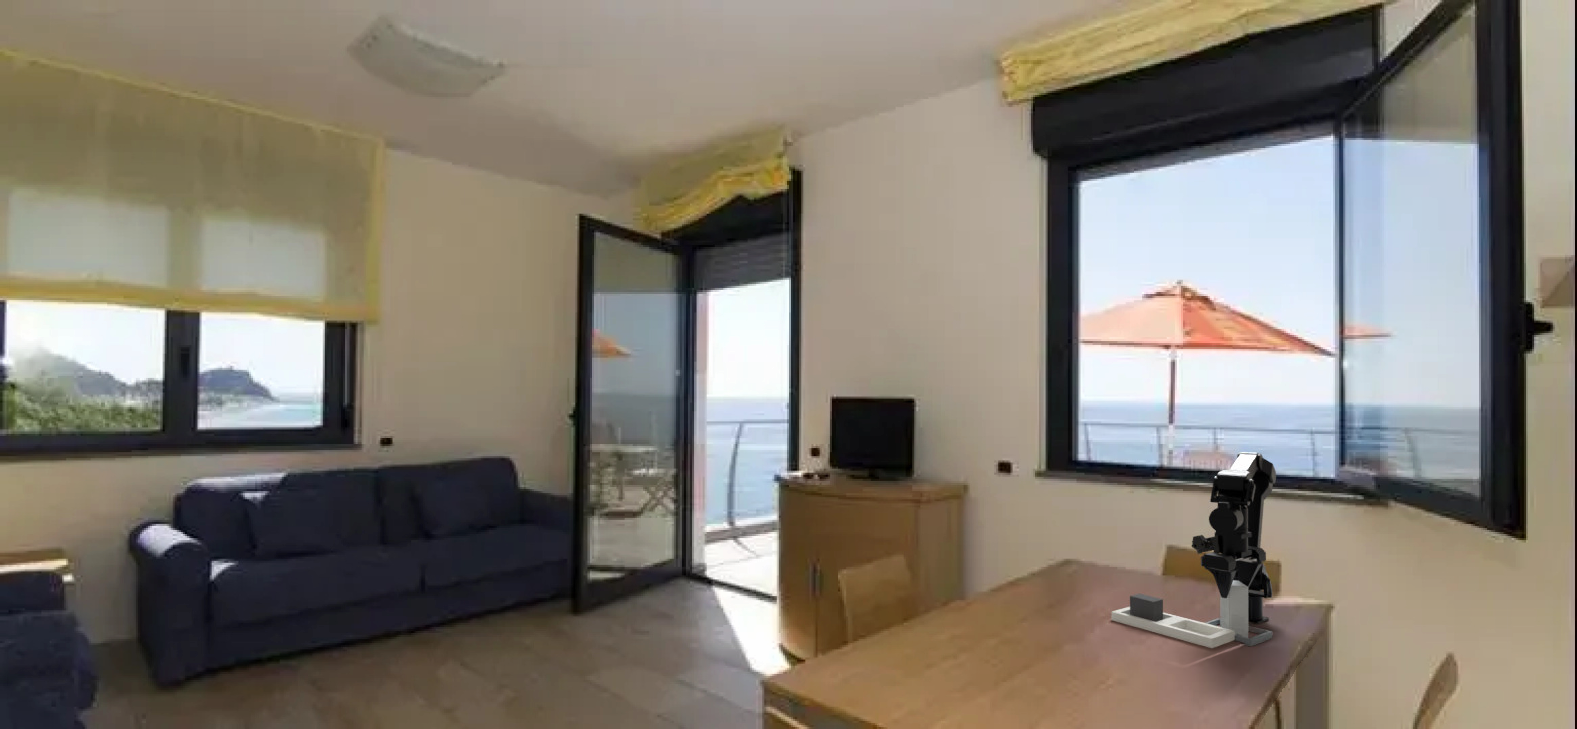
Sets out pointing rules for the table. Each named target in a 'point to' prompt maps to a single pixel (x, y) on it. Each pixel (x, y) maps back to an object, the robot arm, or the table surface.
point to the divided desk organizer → (1178, 628)
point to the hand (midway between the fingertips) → (1234, 594)
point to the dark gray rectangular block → (1146, 607)
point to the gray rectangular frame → (1249, 641)
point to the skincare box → (1235, 609)
